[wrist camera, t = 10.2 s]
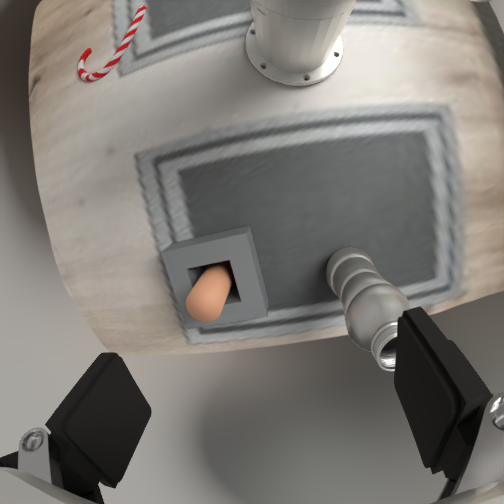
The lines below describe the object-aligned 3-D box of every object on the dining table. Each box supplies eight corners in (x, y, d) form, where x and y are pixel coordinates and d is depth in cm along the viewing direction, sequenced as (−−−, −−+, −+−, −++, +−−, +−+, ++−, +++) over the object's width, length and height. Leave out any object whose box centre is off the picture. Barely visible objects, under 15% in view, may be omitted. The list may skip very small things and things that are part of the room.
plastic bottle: (328, 294, 39) (361, 394, 20) (318, 249, 38) (355, 329, 18) (371, 282, 38) (431, 371, 19) (364, 237, 37) (435, 304, 17)
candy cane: (157, 10, 28) (95, 88, 32) (160, 13, 30) (100, 90, 34) (125, -2, 27) (69, 71, 32) (129, 1, 29) (74, 72, 33)
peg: (202, 262, 39) (180, 292, 30) (230, 256, 39) (216, 285, 29) (210, 288, 41) (192, 324, 31) (238, 283, 40) (226, 319, 30)
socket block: (172, 243, 39) (160, 252, 35) (249, 225, 37) (246, 233, 33) (196, 313, 42) (187, 328, 38) (268, 300, 40) (267, 316, 36)
